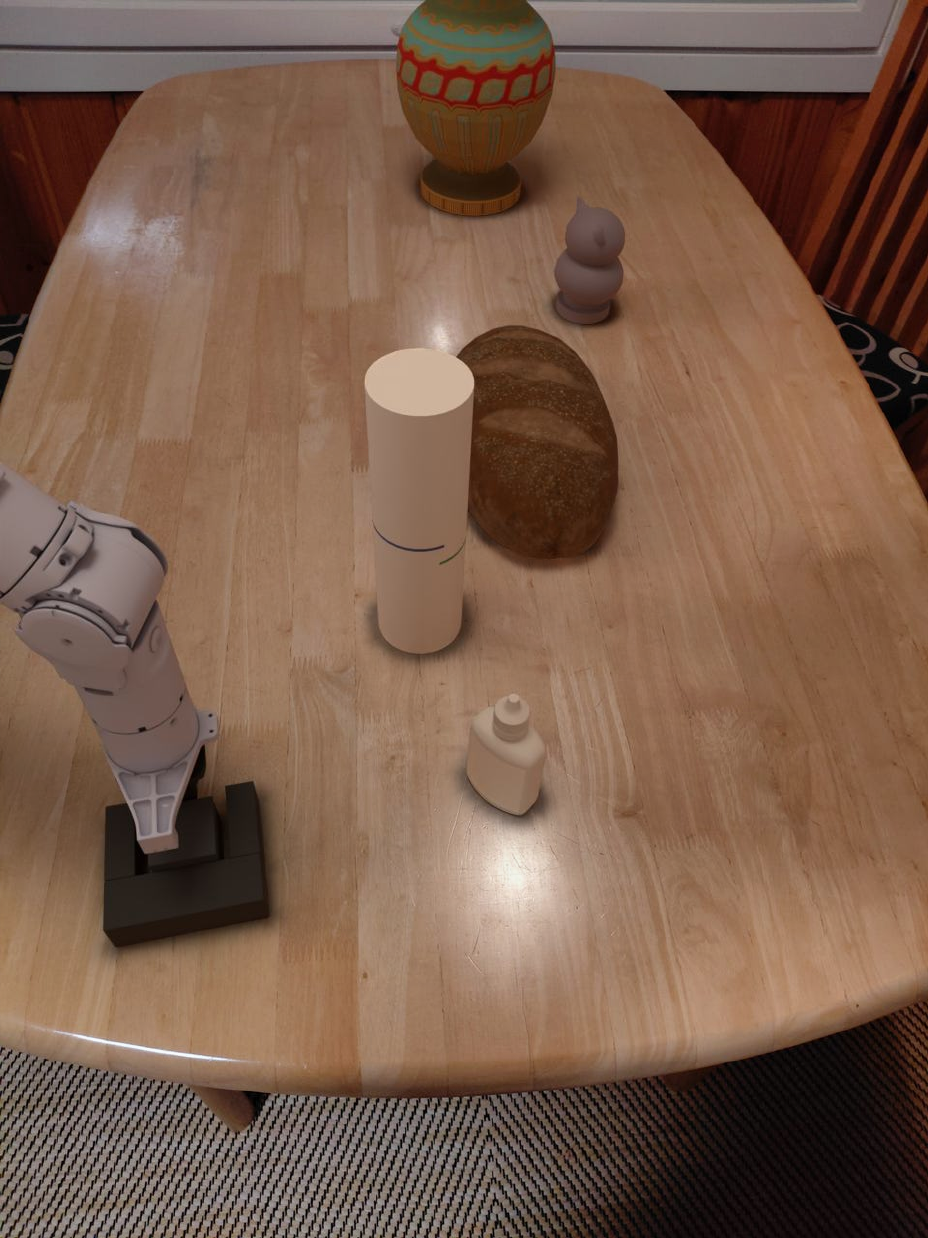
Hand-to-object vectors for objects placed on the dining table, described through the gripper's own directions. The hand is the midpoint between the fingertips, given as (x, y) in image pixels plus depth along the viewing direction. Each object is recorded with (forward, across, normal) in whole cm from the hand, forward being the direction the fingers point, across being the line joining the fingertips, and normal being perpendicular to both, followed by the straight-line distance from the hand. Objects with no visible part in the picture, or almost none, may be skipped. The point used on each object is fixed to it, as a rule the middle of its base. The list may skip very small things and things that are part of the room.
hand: (181, 801), depth 66 cm
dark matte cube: (+3, -3, 0) cm, 4 cm away
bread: (+3, +33, -34) cm, 47 cm away
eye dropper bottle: (+3, -2, -23) cm, 23 cm away
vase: (+3, +88, -41) cm, 97 cm away
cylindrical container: (+3, +15, -20) cm, 25 cm away
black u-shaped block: (+3, -4, 0) cm, 5 cm away
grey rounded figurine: (+3, +58, -48) cm, 75 cm away
